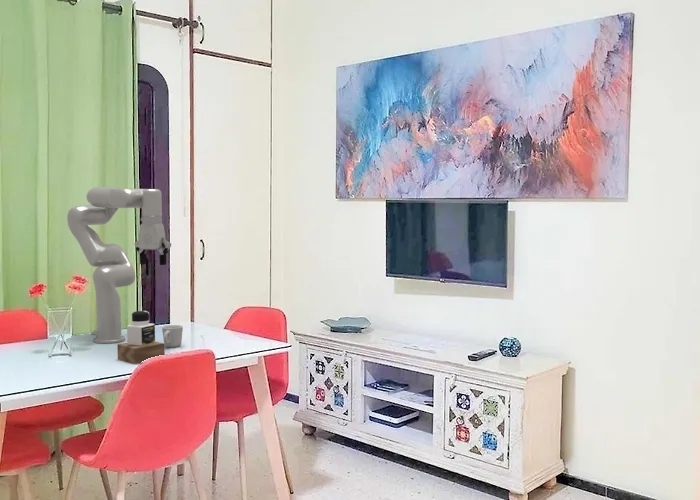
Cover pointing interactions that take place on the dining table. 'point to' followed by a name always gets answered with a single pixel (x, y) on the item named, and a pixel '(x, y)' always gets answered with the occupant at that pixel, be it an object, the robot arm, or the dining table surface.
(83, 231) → the robot arm
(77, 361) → the dining table surface
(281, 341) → the dining table surface
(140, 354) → the walnut block
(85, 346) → the dining table surface
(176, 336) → the cup
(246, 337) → the dining table surface
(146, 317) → the medicine bottle
